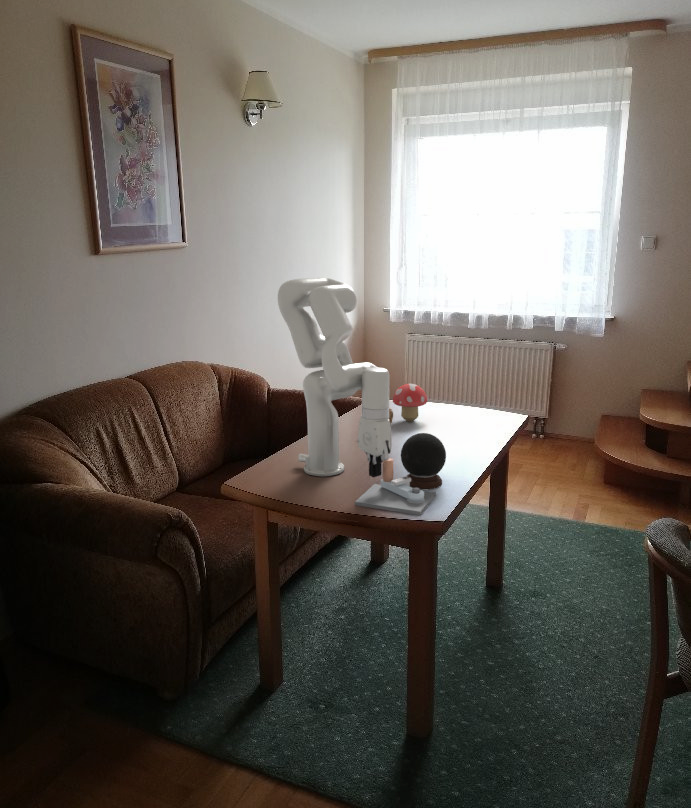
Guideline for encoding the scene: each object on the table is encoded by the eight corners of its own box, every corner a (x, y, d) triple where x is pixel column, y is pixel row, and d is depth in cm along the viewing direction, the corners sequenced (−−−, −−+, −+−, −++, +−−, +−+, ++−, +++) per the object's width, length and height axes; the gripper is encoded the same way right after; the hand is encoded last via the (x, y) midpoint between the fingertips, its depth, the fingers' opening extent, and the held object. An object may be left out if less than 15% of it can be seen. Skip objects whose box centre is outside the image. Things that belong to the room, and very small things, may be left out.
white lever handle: (427, 499, 183) (427, 471, 181) (415, 503, 181) (415, 475, 179) (390, 483, 196) (390, 457, 194) (378, 486, 193) (378, 460, 191)
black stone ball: (416, 471, 209) (417, 425, 205) (453, 481, 200) (455, 432, 197) (391, 484, 199) (391, 435, 195) (429, 494, 191) (430, 443, 187)
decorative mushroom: (428, 426, 258) (429, 387, 254) (393, 426, 258) (393, 388, 255) (425, 416, 271) (425, 380, 267) (391, 417, 271) (391, 380, 268)
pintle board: (436, 495, 189) (436, 479, 188) (420, 515, 176) (420, 498, 175) (374, 487, 197) (374, 471, 195) (355, 505, 184) (354, 488, 183)
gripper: (348, 409, 189) (349, 470, 194) (381, 421, 178) (380, 486, 182) (370, 405, 194) (370, 465, 198) (403, 416, 182) (402, 480, 186)
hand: (375, 475), depth 190 cm, fingers closed
